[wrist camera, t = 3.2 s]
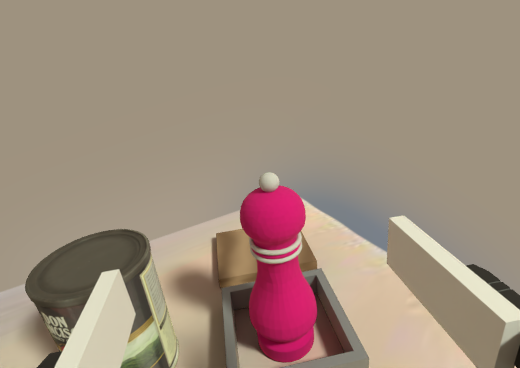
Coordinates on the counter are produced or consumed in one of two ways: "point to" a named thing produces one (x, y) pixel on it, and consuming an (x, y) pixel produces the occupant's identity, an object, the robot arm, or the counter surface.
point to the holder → (355, 357)
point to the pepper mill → (278, 271)
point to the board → (248, 258)
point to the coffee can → (84, 280)
